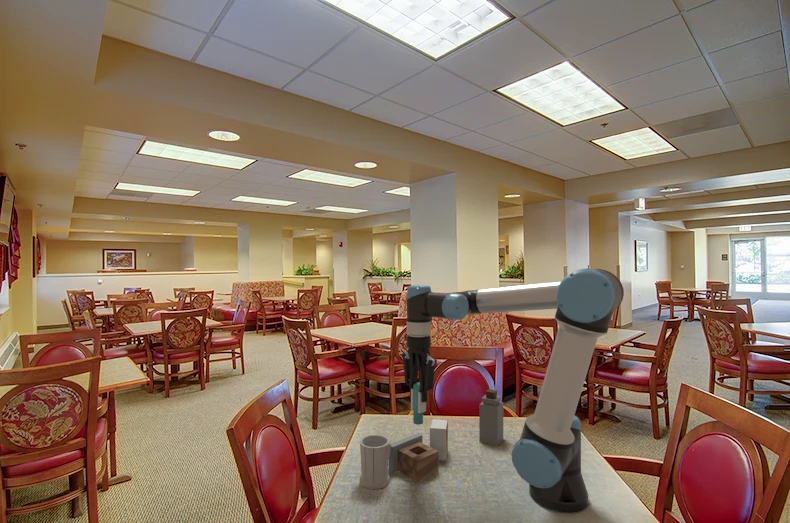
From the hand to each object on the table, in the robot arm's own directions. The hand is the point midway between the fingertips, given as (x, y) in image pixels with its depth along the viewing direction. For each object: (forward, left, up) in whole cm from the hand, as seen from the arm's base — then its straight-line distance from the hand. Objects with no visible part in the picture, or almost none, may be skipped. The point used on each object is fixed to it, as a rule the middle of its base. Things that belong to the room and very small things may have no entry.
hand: (418, 410), depth 122 cm
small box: (+3, -13, -19) cm, 23 cm away
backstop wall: (+6, 0, -19) cm, 20 cm away
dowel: (0, 0, -4) cm, 4 cm away
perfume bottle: (-2, -36, -19) cm, 41 cm away
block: (0, 0, -19) cm, 19 cm away
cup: (+5, +13, -19) cm, 24 cm away
